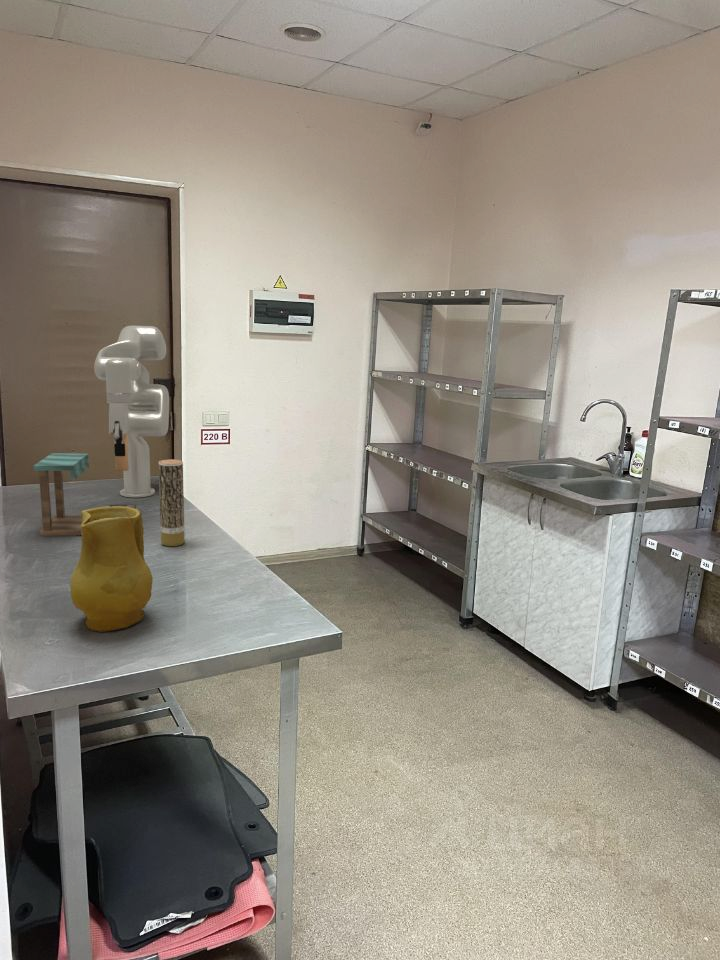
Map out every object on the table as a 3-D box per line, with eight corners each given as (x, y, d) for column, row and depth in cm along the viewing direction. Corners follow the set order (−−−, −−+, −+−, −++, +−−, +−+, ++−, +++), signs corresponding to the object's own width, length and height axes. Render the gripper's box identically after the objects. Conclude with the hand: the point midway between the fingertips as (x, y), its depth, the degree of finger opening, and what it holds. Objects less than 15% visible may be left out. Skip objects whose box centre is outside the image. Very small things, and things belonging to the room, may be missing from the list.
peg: (117, 468, 224) (115, 426, 221) (129, 468, 224) (128, 426, 221) (114, 471, 220) (112, 428, 217) (127, 471, 220) (125, 428, 217)
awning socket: (56, 519, 221) (51, 453, 216) (142, 519, 225) (139, 454, 220) (39, 536, 204) (33, 465, 199) (132, 536, 208) (129, 466, 203)
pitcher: (58, 618, 152) (51, 510, 146) (137, 596, 164) (133, 497, 159) (91, 645, 140) (84, 530, 134) (173, 620, 153) (170, 514, 147)
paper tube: (187, 540, 206) (186, 460, 200) (179, 547, 199) (177, 464, 194) (166, 539, 207) (163, 458, 201) (157, 546, 200) (154, 463, 194)
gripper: (112, 395, 224) (114, 450, 228) (101, 401, 208) (103, 459, 212) (136, 396, 226) (138, 450, 230) (126, 401, 209) (128, 459, 213)
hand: (121, 454), depth 221 cm, fingers closed on peg, 4 cm apart
